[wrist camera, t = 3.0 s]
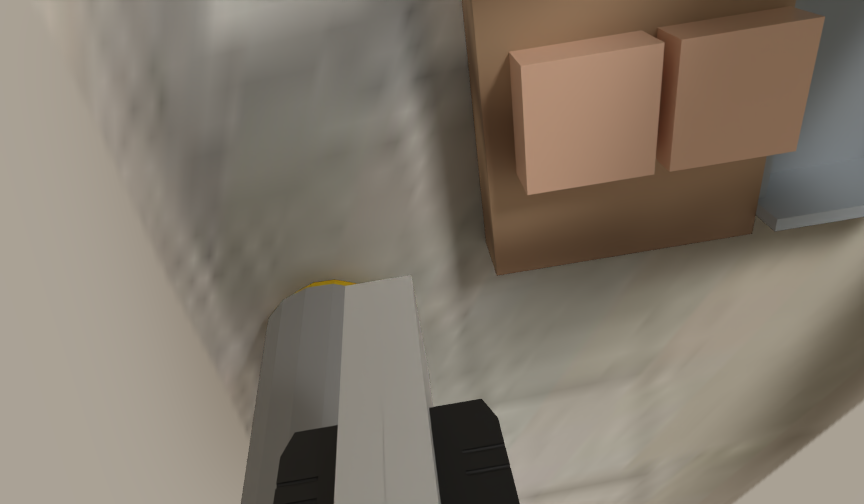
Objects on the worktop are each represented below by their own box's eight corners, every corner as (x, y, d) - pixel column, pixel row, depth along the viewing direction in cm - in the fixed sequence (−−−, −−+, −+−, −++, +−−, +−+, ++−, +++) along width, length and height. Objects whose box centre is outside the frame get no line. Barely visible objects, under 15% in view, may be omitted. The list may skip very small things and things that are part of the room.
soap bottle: (336, 388, 34) (311, 791, 19) (241, 321, 31) (119, 741, 16) (426, 323, 32) (477, 715, 17) (334, 244, 29) (297, 639, 14)
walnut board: (451, -101, 22) (462, -99, 19) (772, -153, 22) (826, -158, 19) (485, 242, 30) (497, 275, 27) (719, 203, 30) (752, 233, 27)
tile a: (509, 52, 22) (520, 66, 20) (641, 30, 22) (664, 42, 20) (516, 173, 24) (527, 195, 23) (634, 154, 24) (654, 174, 23)
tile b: (657, 27, 22) (682, 39, 20) (790, 6, 22) (825, 16, 20) (648, 152, 24) (669, 171, 23) (766, 132, 24) (796, 151, 23)
